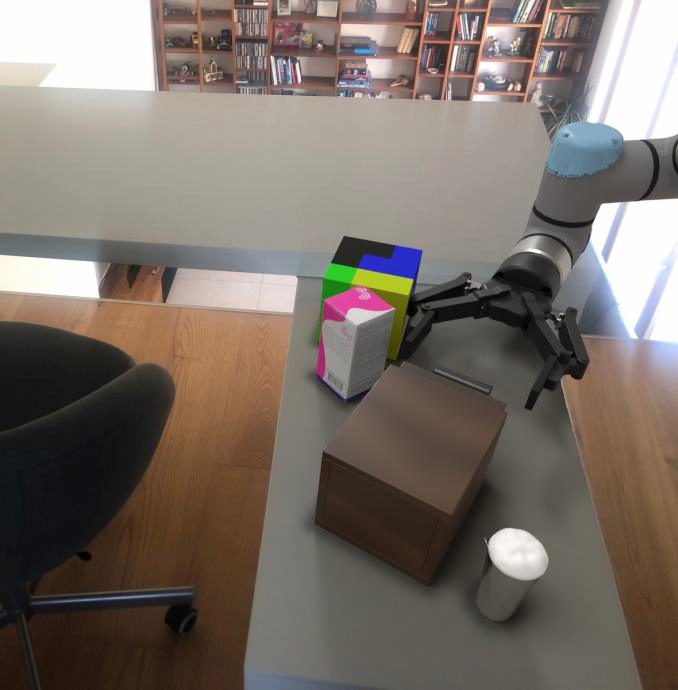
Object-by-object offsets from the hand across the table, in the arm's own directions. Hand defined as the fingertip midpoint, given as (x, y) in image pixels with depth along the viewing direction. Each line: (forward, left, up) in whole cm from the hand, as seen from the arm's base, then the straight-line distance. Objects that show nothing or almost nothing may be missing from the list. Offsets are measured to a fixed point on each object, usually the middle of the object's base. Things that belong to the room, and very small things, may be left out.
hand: (466, 374), depth 73 cm
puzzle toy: (+11, -14, -7) cm, 19 cm away
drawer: (+3, +8, -6) cm, 11 cm away
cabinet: (+5, +13, -7) cm, 16 cm away
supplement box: (+12, -4, -7) cm, 14 cm away
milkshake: (-3, +22, -7) cm, 23 cm away
